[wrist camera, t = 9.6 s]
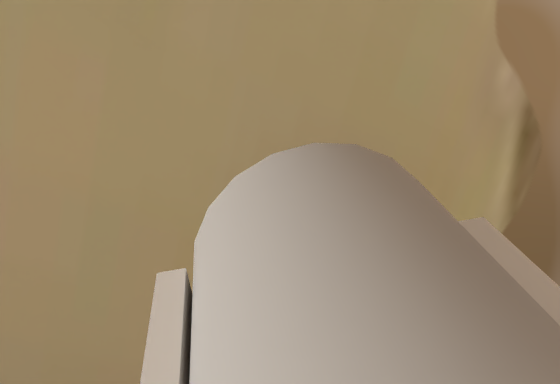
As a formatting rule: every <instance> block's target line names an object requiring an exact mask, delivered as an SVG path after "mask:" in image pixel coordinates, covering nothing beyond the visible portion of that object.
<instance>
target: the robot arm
mask: <svg viewBox="0 0 560 384" xmlns="http://www.w3.org/2000/svg"><path fill="white" fill-rule="evenodd" d="M458 222H459V223H460V224H461V225H462V226H463V227H464V228H465V229H466V230H467V231H468V232H469V233H470V234H471V235H472V236H473V237H474V238H475V239H476V240H477V241H478V242H479V244H480V245H481V246H482V247H483V248H484V249H485V250H486V251H487V252H488V253H489V254H490V255H491V256H492V257H493V258H494V259H495V260H496V261H497V262H498V263H499V264H500V265H501V266H502V267H503V268H504V269H505V270H506V271H507V272H508V273H509V274H510V275H511V276H512V277H513V278H514V279H515V280H516V281H517V282H518V283H519V284H520V285H521V286H522V287H523V289H524V290H525V291H526V292H527V293H528V294H529V295H530V296H531V297H532V298H533V299H534V300H535V301H536V302H537V303H538V304H539V305H540V306H541V307H542V308H543V309H544V310H545V311H546V312H547V313H548V314H549V315H550V316H551V317H552V318H553V319H554V320H555V321H556V322H557V323H558V324H559V325H560V287H559V286H558V285H557V284H556V283H555V282H554V281H552V279H550V278H549V277H548V276H547V275H546V274H545V273H544V272H543V271H542V270H540V268H538V267H537V266H536V265H535V264H534V263H533V262H532V261H531V260H530V259H529V258H527V257H526V256H525V255H524V254H523V253H522V252H521V251H520V250H519V249H518V248H517V247H515V246H514V245H513V244H512V243H511V242H510V241H509V240H508V239H507V238H506V237H505V236H503V235H502V234H501V233H500V232H499V231H498V230H497V229H496V228H495V227H494V226H493V225H491V224H490V223H489V222H488V221H487V220H486V219H485V218H484V217H481V218H475V219H469V220H464V221H458ZM192 297H193V295H192V291H191V287H190V283H189V279H188V275H187V270H186V268H183V269H178V270H172V271H166V272H160V273H157V276H156V283H155V289H154V296H153V302H152V309H151V315H150V322H149V329H148V335H147V342H146V348H145V355H144V361H143V368H142V374H141V381H140V384H189V380H190V352H191V324H192Z"/></svg>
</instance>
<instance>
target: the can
mask: <svg viewBox="0 0 560 384" xmlns="http://www.w3.org/2000/svg"><path fill="white" fill-rule="evenodd" d="M189 384H560V325H559V324H558V323H557V322H556V321H555V320H554V319H553V318H552V317H551V316H550V315H549V314H548V313H547V312H546V311H545V310H544V309H543V308H542V307H541V306H540V305H539V304H538V303H537V302H536V301H535V300H534V299H533V298H532V297H531V296H530V295H529V294H528V293H527V292H526V291H525V290H524V289H523V287H522V286H521V285H520V284H519V283H518V282H517V281H516V280H515V279H514V278H513V277H512V276H511V275H510V274H509V273H508V272H507V271H506V270H505V269H504V268H503V267H502V266H501V265H500V264H499V263H498V262H497V261H496V260H495V259H494V258H493V257H492V256H491V255H490V254H489V253H488V252H487V251H486V250H485V249H484V248H483V247H482V246H481V245H480V244H479V242H478V241H477V240H476V239H475V238H474V237H473V236H472V235H471V234H470V233H469V232H468V231H467V230H466V229H465V228H464V227H463V226H462V225H461V224H460V223H459V222H458V221H457V220H456V219H455V218H454V217H453V216H452V215H451V214H450V213H449V212H448V211H447V210H446V209H445V208H444V207H443V206H442V205H441V204H440V203H439V202H438V201H437V200H436V199H435V197H434V196H433V195H432V194H431V193H430V192H429V191H428V190H427V189H426V188H425V187H424V186H423V185H422V184H421V183H420V182H419V181H418V180H417V179H415V178H414V177H413V176H412V175H411V174H410V173H409V172H408V171H406V170H405V169H404V168H403V167H402V166H401V165H400V164H398V163H397V162H396V161H395V160H394V159H393V158H391V157H388V156H386V155H383V154H380V153H378V152H375V151H372V150H370V149H367V148H364V147H362V146H359V145H357V144H334V143H311V144H308V145H304V146H300V147H296V148H293V149H289V150H285V151H281V152H278V153H274V154H271V155H270V156H268V157H266V158H265V159H263V160H261V161H260V162H258V163H256V164H255V165H253V166H252V167H250V168H248V169H247V170H245V171H243V172H242V173H240V174H239V175H237V176H235V177H234V178H233V180H232V181H231V182H230V183H229V184H228V185H227V187H226V188H225V189H224V190H223V191H222V192H221V193H220V195H219V196H218V197H217V198H216V199H215V200H214V201H213V203H212V204H211V205H210V206H209V207H208V209H207V212H206V214H205V217H204V219H203V222H202V224H201V227H200V229H199V232H198V234H197V237H196V239H195V242H194V269H193V297H192V324H191V352H190V380H189Z"/></svg>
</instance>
